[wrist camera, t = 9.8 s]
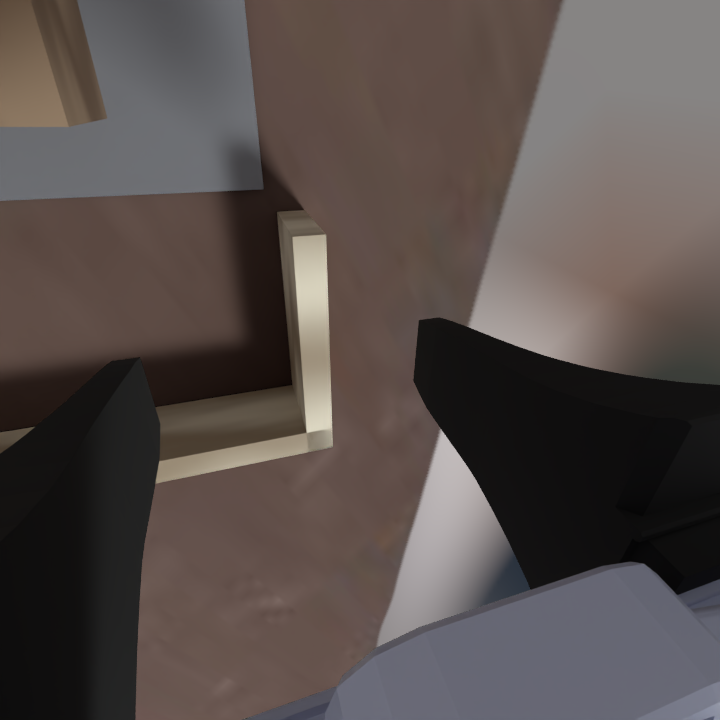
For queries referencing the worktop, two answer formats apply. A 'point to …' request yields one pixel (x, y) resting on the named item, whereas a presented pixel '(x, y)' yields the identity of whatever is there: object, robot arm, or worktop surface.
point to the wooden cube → (46, 66)
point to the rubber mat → (150, 108)
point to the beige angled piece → (263, 407)
